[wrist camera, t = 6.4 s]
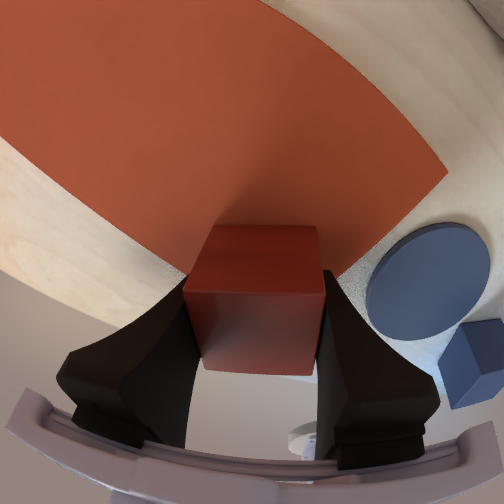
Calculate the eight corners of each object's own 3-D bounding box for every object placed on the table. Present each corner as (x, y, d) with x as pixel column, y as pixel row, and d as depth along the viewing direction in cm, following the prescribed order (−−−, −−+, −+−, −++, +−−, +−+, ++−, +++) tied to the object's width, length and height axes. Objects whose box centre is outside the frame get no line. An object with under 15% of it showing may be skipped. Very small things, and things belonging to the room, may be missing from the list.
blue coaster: (458, 330, 15) (460, 335, 15) (353, 337, 16) (354, 344, 16) (502, 226, 11) (507, 231, 10) (380, 218, 12) (383, 223, 11)
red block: (309, 303, 14) (312, 376, 11) (223, 300, 15) (204, 370, 11) (315, 225, 12) (326, 294, 8) (212, 224, 12) (181, 289, 9)
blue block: (476, 356, 17) (493, 398, 13) (436, 363, 17) (451, 410, 14) (501, 318, 14) (524, 362, 11) (459, 323, 15) (482, 375, 11)
